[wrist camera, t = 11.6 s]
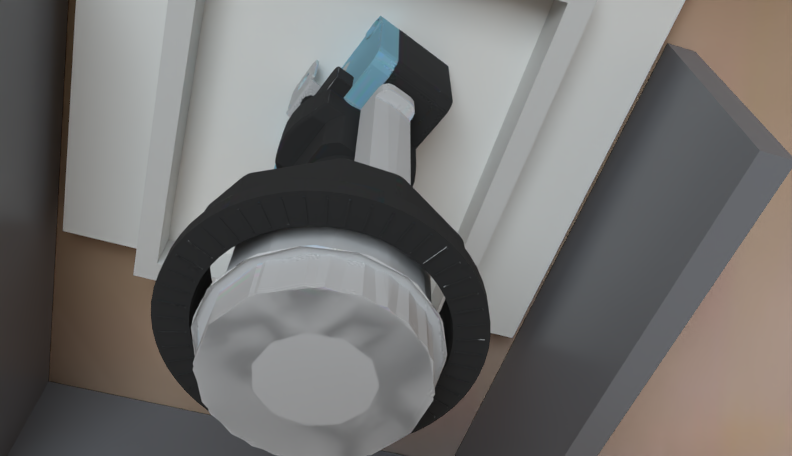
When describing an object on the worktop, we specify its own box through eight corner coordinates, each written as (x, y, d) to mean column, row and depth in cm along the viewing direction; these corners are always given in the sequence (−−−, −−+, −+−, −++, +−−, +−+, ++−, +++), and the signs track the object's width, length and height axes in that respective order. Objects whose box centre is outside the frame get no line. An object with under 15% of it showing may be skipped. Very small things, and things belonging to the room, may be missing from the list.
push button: (349, 253, 22) (313, 570, 14) (189, 155, 20) (36, 449, 12) (500, 85, 19) (574, 359, 11) (328, -47, 17) (253, 156, 9)
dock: (39, -153, 17) (-117, -107, 12) (695, 51, 19) (796, 161, 14) (24, 391, 26) (-65, 544, 21) (462, 482, 29) (474, 637, 24)
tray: (52, -677, 12) (-131, -892, 8) (901, -326, 15) (1098, -352, 10) (29, 210, 22) (-61, 320, 18) (544, 334, 24) (572, 457, 20)
